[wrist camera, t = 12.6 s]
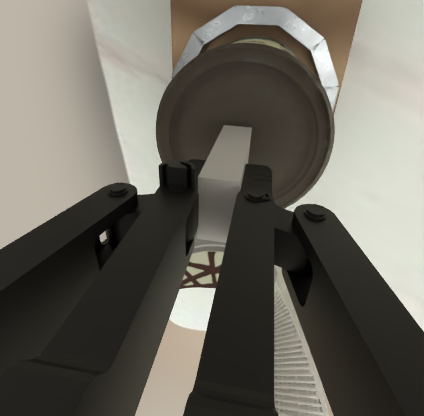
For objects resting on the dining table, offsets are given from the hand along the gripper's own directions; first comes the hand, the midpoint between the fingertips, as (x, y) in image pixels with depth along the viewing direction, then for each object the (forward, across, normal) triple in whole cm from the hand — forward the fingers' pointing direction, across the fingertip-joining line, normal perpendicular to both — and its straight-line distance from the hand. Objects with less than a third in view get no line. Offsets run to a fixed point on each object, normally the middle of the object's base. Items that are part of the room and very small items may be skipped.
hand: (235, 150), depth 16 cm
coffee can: (+15, 0, 0) cm, 15 cm away
